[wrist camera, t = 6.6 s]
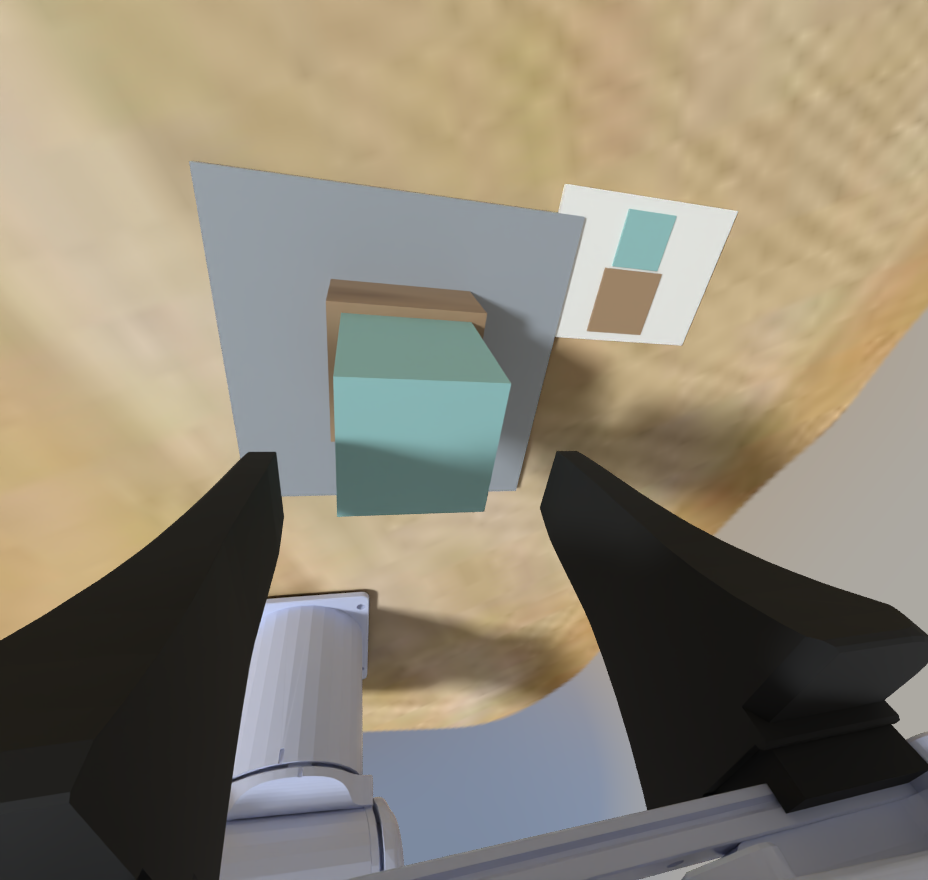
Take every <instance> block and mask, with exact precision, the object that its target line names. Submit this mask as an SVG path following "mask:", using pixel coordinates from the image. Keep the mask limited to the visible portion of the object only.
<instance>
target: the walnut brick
mask: <svg viewBox="0 0 928 880" xmlns="http://www.w3.org/2000/svg"><path fill="white" fill-rule="evenodd" d="M341 313H351V314H365V315H379V316H393V317H406V318H420V319H434V320H448V321H461V322H472V324H473V325H474V327H475V328H476V330H477V331H478V333H479V335H480V336H481V338H482V339H483V336H484V330H485V324H486V318H487V313H486V311H485V310H484V309H483V307H482V306H481V305H480V304H479V302H478V301H477V300H476V299H475V297H474V296H473V295H472V293H471V292H470V291H461V290H450V289H439V288H428V287H417V286H406V285H394V284H383V283H372V282H361V281H350V280H339V279H331V280H330V285H329V289H328V293H327V297H326V324H327V351H328V379H329V407H330V434H331V442H335V422H334V388H333V374H334V366H335V357H336V349H337V341H338V333H339V325H340V317H341Z"/></svg>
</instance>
